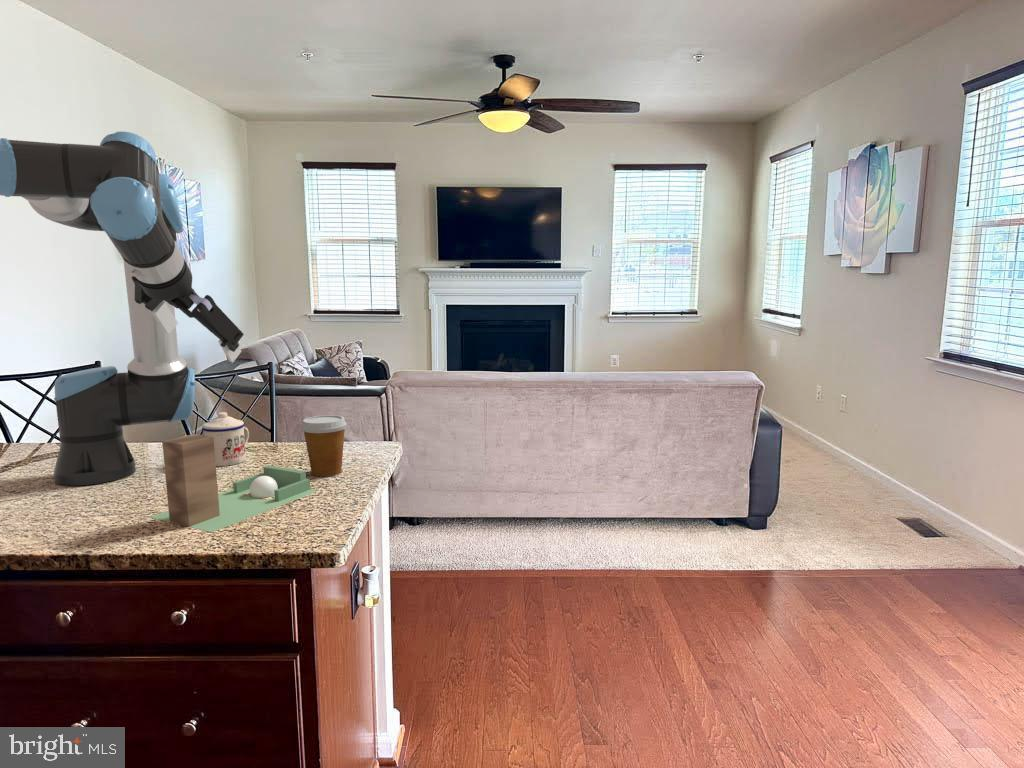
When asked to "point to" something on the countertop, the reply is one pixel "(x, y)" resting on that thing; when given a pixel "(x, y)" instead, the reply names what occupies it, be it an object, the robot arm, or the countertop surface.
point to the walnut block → (191, 479)
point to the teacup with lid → (227, 439)
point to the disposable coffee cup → (324, 443)
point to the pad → (244, 507)
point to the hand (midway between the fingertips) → (203, 342)
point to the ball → (263, 487)
